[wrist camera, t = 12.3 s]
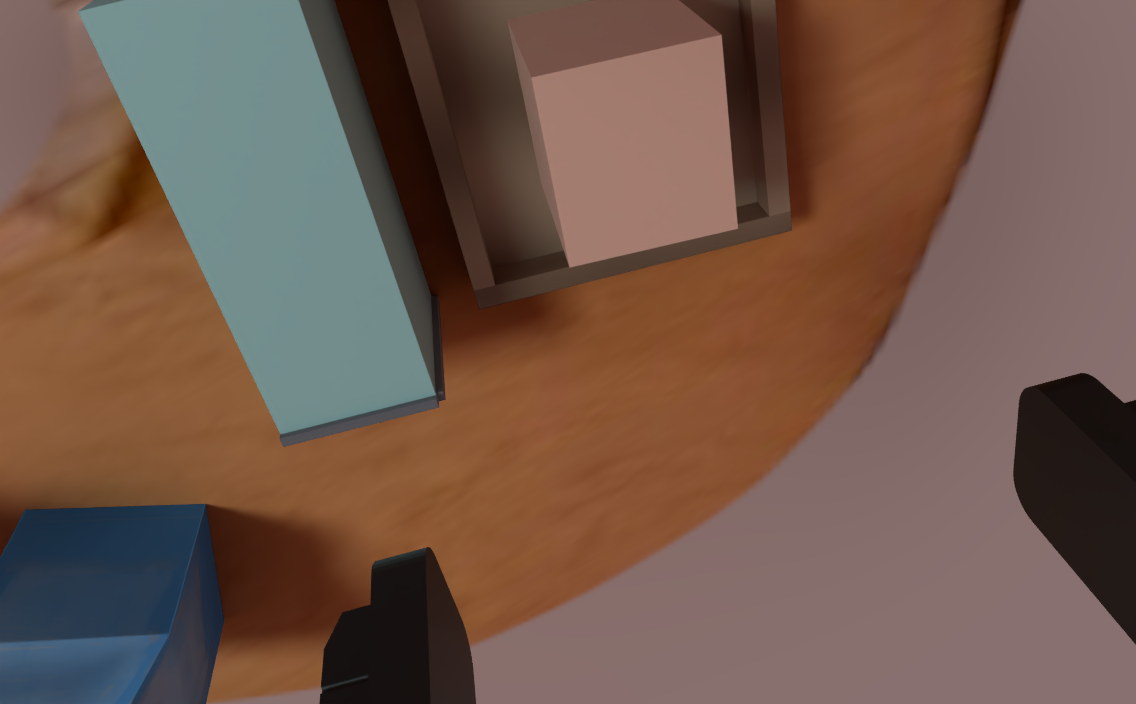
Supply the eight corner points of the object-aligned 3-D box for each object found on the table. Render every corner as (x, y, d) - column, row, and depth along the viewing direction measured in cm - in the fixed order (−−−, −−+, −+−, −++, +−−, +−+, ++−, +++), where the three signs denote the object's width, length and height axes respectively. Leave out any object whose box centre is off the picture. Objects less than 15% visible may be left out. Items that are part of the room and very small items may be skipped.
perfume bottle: (25, 509, 33) (-142, 828, 23) (205, 503, 34) (121, 806, 24) (60, 628, 36) (-73, 954, 26) (224, 620, 37) (156, 930, 27)
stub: (507, 19, 26) (531, 77, 21) (660, -15, 26) (721, 34, 21) (540, 181, 29) (569, 267, 24) (680, 150, 29) (737, 228, 24)
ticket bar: (145, -37, 25) (75, 13, 19) (316, -79, 25) (292, -40, 19) (304, 334, 31) (283, 446, 26) (439, 300, 31) (445, 405, 26)
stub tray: (369, -78, 25) (367, -70, 23) (741, -170, 25) (763, -166, 23) (475, 283, 31) (479, 309, 29) (773, 208, 31) (792, 230, 30)
